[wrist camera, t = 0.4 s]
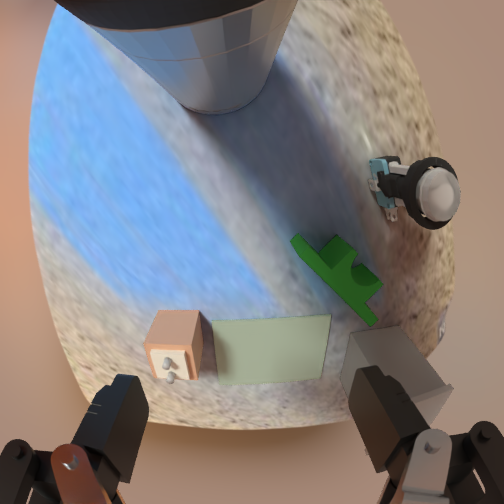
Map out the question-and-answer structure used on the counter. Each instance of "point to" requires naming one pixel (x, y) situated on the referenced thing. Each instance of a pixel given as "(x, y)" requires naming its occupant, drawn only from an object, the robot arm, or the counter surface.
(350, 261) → the pipe clamp
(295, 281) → the counter surface
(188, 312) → the block
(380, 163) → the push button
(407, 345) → the box
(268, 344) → the pad
